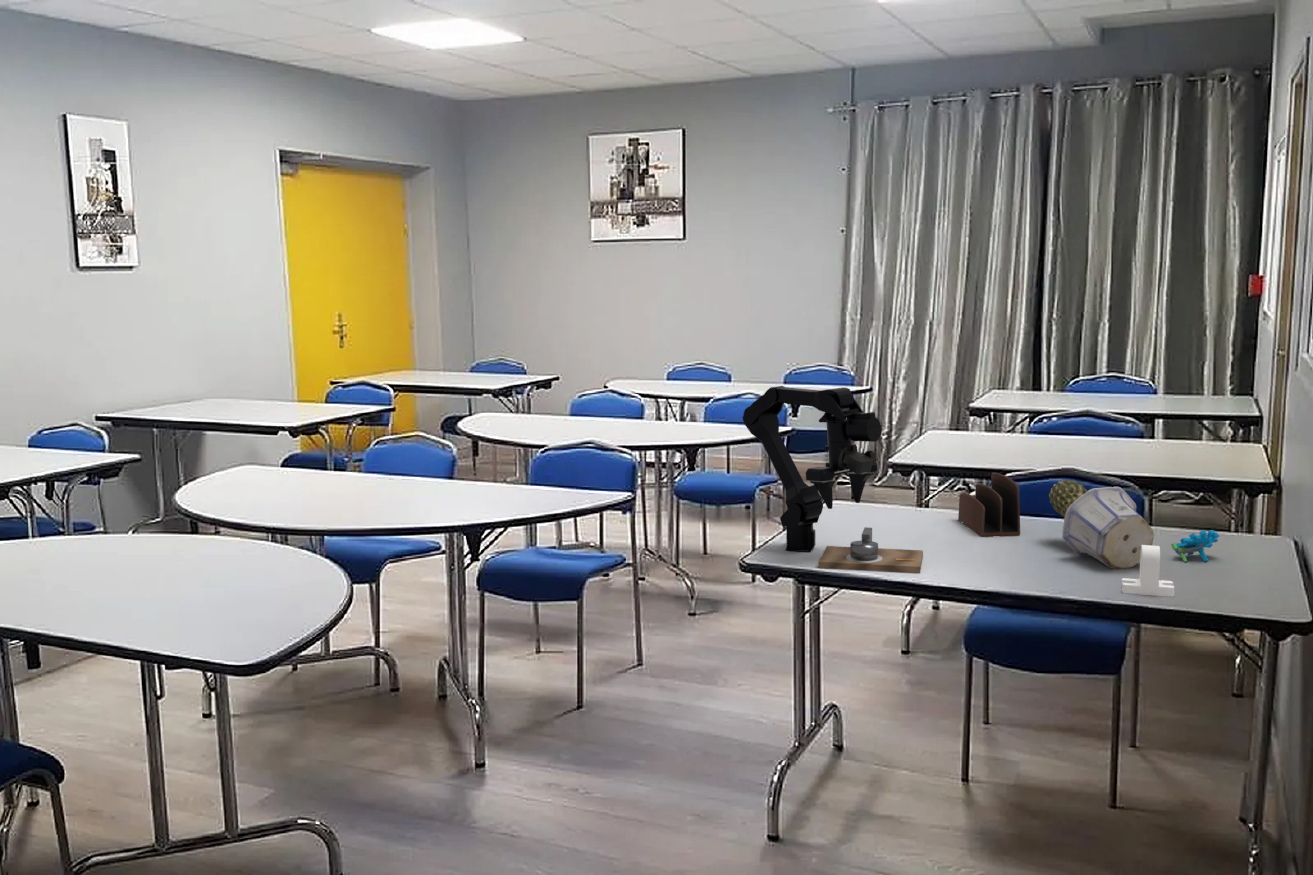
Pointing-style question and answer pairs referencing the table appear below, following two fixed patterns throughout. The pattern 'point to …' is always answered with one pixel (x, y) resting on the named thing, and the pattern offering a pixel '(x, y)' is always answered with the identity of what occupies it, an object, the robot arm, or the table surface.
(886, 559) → the base plate
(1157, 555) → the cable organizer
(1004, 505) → the letter holder
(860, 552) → the grey rotary lever handle
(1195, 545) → the blue spiky toy dinosaur
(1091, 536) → the potted plant
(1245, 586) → the table surface
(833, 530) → the table surface
